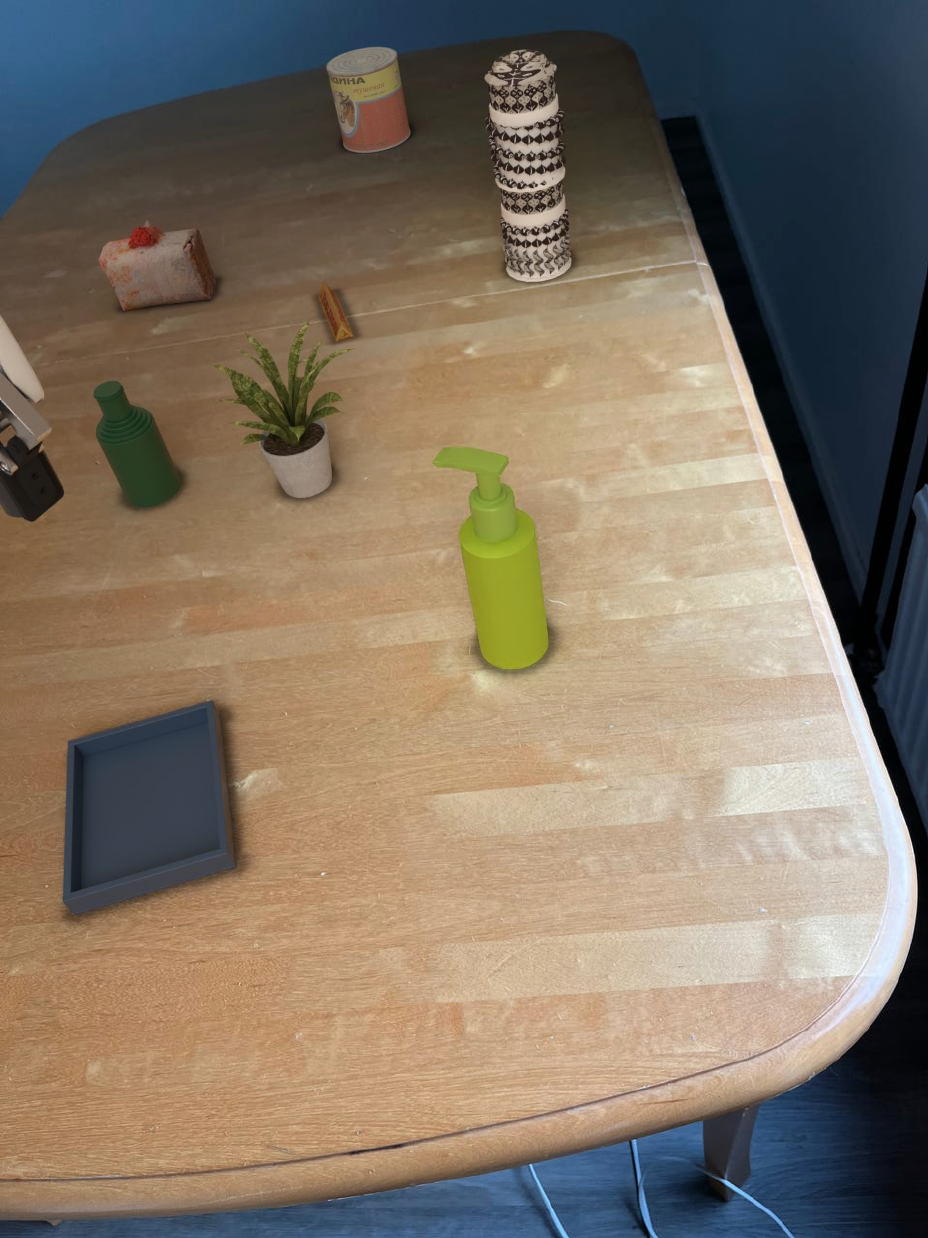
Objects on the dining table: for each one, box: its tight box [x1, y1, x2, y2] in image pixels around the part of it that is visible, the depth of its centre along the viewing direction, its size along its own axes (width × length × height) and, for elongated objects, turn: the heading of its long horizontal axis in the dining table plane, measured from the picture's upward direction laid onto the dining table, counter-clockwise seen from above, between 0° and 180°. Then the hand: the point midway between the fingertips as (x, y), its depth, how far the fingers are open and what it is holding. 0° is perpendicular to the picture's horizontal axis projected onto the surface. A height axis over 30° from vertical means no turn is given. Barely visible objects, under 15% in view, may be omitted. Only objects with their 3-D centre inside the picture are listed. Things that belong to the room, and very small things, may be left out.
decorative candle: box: [484, 49, 572, 283], centre depth 122 cm, size 9×9×25 cm
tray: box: [62, 699, 237, 916], centre depth 80 cm, size 15×12×2 cm
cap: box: [0, 446, 65, 519], centre depth 68 cm, size 4×4×3 cm
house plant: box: [210, 318, 356, 499], centre depth 101 cm, size 14×14×16 cm
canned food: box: [325, 46, 412, 154], centre depth 164 cm, size 11×11×12 cm
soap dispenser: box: [432, 446, 550, 670], centre depth 80 cm, size 6×7×20 cm
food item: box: [98, 219, 217, 312], centre depth 137 cm, size 14×8×10 cm, turn 89°
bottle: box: [92, 380, 182, 508], centre depth 105 cm, size 6×6×13 cm
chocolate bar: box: [317, 281, 354, 342], centre depth 129 cm, size 3×12×2 cm, turn 16°
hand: (20, 497), depth 68 cm, fingers closed on cap, 4 cm apart
